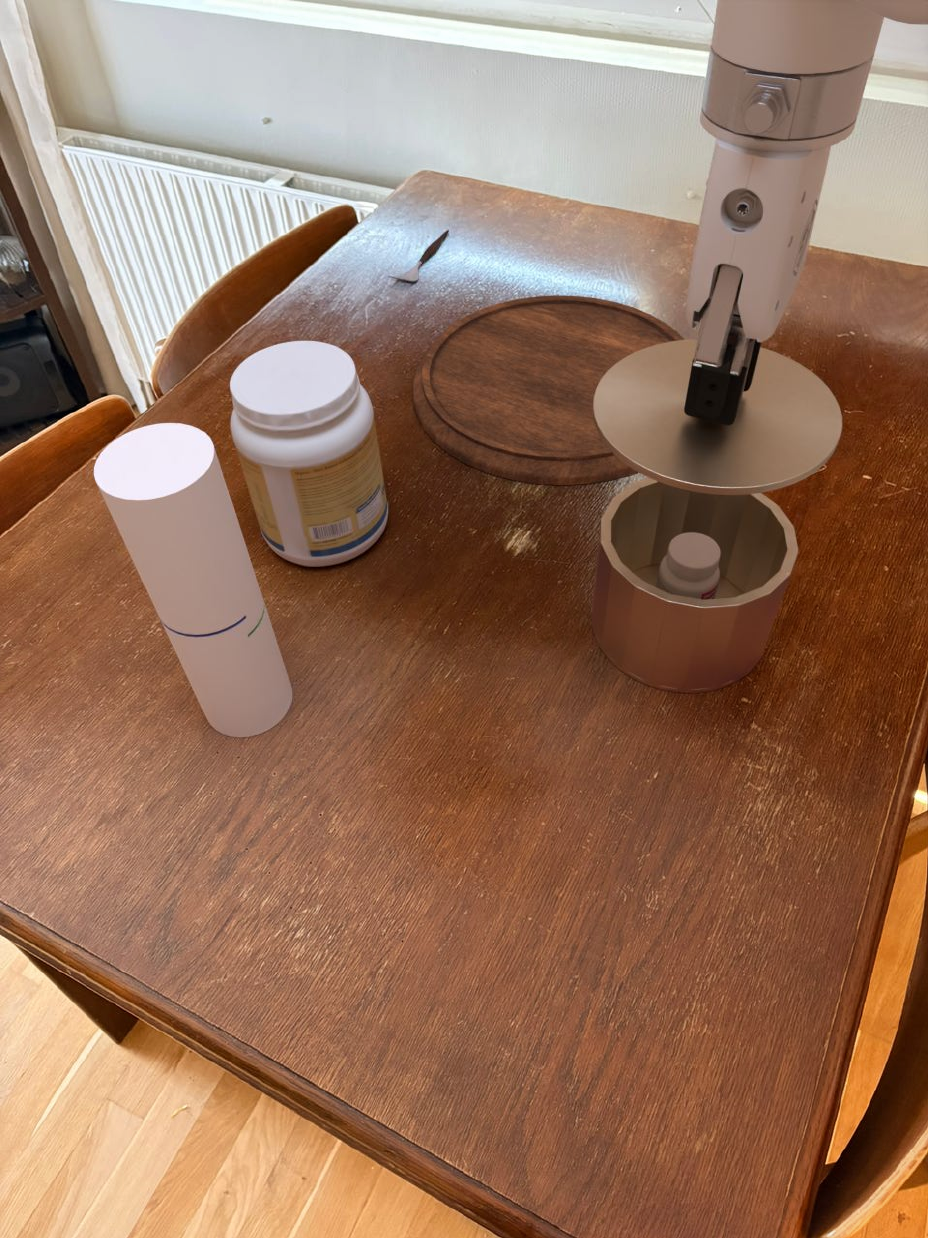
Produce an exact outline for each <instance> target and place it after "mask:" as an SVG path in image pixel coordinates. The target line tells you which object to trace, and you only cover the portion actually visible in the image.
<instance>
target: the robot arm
mask: <svg viewBox="0 0 928 1238" xmlns="http://www.w3.org/2000/svg"><path fill="white" fill-rule="evenodd" d="M714 17H715V18H714V23H713V30H712V35H711V43H710V48H709V54H708V61H707V66H706V74H705V80H704V87H703V94H702V101H701V108H700V114H699V121H700V125H701V126H702V128H703V129H704V130H705V132H707V133H708V134H709V135H711V136H712V137H713V138H715V143H714V148H713V153H712V157H711V161H710V167H709V172H708V176H707V179H706V181H705V192H704V196H703V200H702V201H703V202H702V208H701V212H700V218H699V222H698V227H697V233H696V240H695V244H694V249H693V254H692V255H693V256H692V261H691V268H690V272H689V273H690V274H689V280H688V287H687V294H686V303H685V304H686V305H685V315H684V317H685V320H686V322H687V324H688V326H690V327H691V328H693V329H694V328H696V326H697V325H699V324H700V326H699V332H698V337H697V339H698V341H697V346H696V351H695V356H694V359H693V362H692V367H691V373H690V379H689V384H688V390H687V396H686V401H685V407H684V412H685V414H686V415H688V416H692V417H696V418H700V419H704V420H708V421H712V422H716V423H720V424H724V425H731V424H733V423H734V420H735V418H736V415H737V411H738V407H739V402H740V398H741V394H742V390H743V385H744V381H745V377H746V372H747V368H748V367H743V363H744V359H745V355H746V351H747V347H748V343H749V338H751V339H756V340H755V344H754V348H753V352H752V357H751V361H750V365H749V369H748V374H747V378H746V382H745V387H744V391H743V392H745V391H748V390H749V388H750V386H751V384H752V380H753V376H754V372H755V368H756V364H757V359H758V355H759V351H760V347H762V343H763V342H765V341H767V340H769V339H770V338H772V336H773V335H774V334H775V332H776V330H777V329H778V326H779V324H780V323H781V321H782V318H783V317H784V314H785V312H786V311H787V307H788V305H789V303H790V301H791V299H792V297H793V294H794V292H795V290H796V288H797V286H798V283H799V282H800V279H801V277H802V274H803V271H804V268H805V264H806V260H807V257H808V251H809V247H810V242H811V238H812V233H813V228H814V225H815V224H814V223H815V220H816V215H817V211H818V207H819V202H820V198H821V194H822V190H823V186H824V182H825V176H826V172H827V168H828V163H829V159H830V154H831V149H832V146H835V145H837V144H839V143H840V142H842V141H845V140H847V138H849V137H850V136H851V135H852V134H853V131H854V130H855V126H856V123H857V119H858V116H859V112H860V108H861V105H862V102H863V98H864V93H865V89H866V86H867V83H868V79H869V76H870V71H871V69H872V68H871V67H872V65H873V61H874V57H875V53H876V48H877V46H878V42H879V38H880V34H881V30H882V27H883V24H884V20H885V18H886V19H889V20H890V21H891V20H892V21H894V22H897V23H902V24H906V25H921V26H922V25H924V26H925V25H927V26H928V0H717V3H716V10H715V16H714ZM728 334H731V335H736V336H738V339H737V343H736V347H735V349H734V345H733V344H729V343H727V337H728Z"/></svg>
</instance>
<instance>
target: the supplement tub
mask: <svg viewBox="0 0 928 1238" xmlns="http://www.w3.org/2000/svg"><path fill="white" fill-rule="evenodd" d="M229 390H230V395H231V402H232V407H233V408H232V411H231V416H230V433H231V438H232V441H233V443H234V447H235V450H236V453H237V456H238V460H239V463H240V467H241V469H242V473H243V476H244V480H245V483H246V486H247V490H248V493H249V496H250V500H251V502H252V506H253V510H254V513H255V516H256V519H257V522H258V526H259V530H260V533H261V535H262V537H263V539H264V541H265V542H266V544H267V545H268V546H269V548H270V549H271V550H272V551H273V552H274V553H275V554H276V555H278V556H279V557H281V558H282V559H283V560H286V561H288V562H290V563H293V564H295V565H299V566H303V567H315V568H316V567H317V568H318V567H329V566H333V565H339V564H342V563H345V562H347V561H350V560H352V559H354V558H357V557H358V556H360V555H361V554H363V553H365V552H366V551H367V550H369V549H370V548H371V547H372V546H373V545H374V544H375V543H376V542H378V540H379V538H381V535H382V534H383V532H384V530H385V528H386V526H387V524H388V518H389V517H388V516H389V504H388V503H389V502H388V500H387V492H386V487H385V481H384V474H383V468H382V461H381V460H382V459H381V454H380V448H379V440H378V434H377V433H378V432H377V427H376V421H375V411H374V406H373V404H372V401H371V397H370V395H369V394H368V392H367V390H366V389H365V387H364V386H363V385H362V384H361V382H360V377H359V376H358V373H357V370H356V365H355V362H354V361H353V359H352V357H351V356H350V354H348V352H346V351H345V350H343V349H342V348H340V347H339V346H336V345H334V344H331V343H326V342H323V341H315V340H292V341H287V342H282V343H277V344H274V345H270V346H268V347H265V348H263V349H261V350H258V351H256V352H254V353H253V354H251V355H250V356H248V357H246V358H245V359H244V360H243V361H242V362H241V363H239V364H238V365H237V367H236V368H235V370H234V371H233V373H232V374H231V377H230V381H229Z"/></svg>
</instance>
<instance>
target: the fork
mask: <svg viewBox="0 0 928 1238" xmlns="http://www.w3.org/2000/svg"><path fill="white" fill-rule="evenodd" d="M449 233H450V229H447V230H445V232H443V233H442V234H441V235H440V236H439V237H438V238H436V239H435V240H434V241H433V242H431V244H430V245H429V246H427V248H426V249H425V251H424V252H423V254H422V255H421V257H420V259H418V261H417V263H416V265H414V266H413V267H411V268H410V269H408V271H405V272H404V273H402V274H401V275H399V276H392V275H387V277H388V278H390V279H396V280H401V281H406V282H411V283H412V282H417V281H418V280H419V279H420V272H419V267H420V266H421V265H422V264H423V263H425V262H426V261H427V260H428V259H430V258H431V257H432V256H433V255H434V254H435V253H436V252H437V250H438V249H439V247H440V246H441V244H442V242H443V241H444V240H445V238H446V237H447V236H448V234H449Z"/></svg>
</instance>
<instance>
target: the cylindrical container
mask: <svg viewBox="0 0 928 1238" xmlns="http://www.w3.org/2000/svg"><path fill="white" fill-rule="evenodd" d="M93 478H94V480H95V483H96V485H97V488H98V489H99V491H100V494H101V496H102V498H103V500H104V503H105V504H106V507H107V509H108V511H109V513H110V515H111V518H112V519H113V523H114V524H115V526H116V528H117V531H118V533H119V535H120V536H121V539H122V541H123V543H124V545H125V548H126V549H127V552H128V554H129V556H130V558H131V560H132V563H133V565H134V567H135V569H136V571H137V573H138V575H139V577H140V579H141V581H142V583H143V586H144V589H145V590H146V593H147V594H148V597H149V599H150V601H151V603H152V605H153V607H154V610H155V611H156V614H157V616H158V619H159V620H160V622H161V624H162V627H163V629H164V630H165V633H166V635H167V637H168V639H169V641H170V644H171V645H172V646H171V647H172V648H173V650H174V653H175V654H176V656H177V659H178V661H179V663H180V665H181V667H182V669H183V672H184V674H185V676H186V678H187V680H188V683H189V685H190V687H191V689H192V691H193V693H194V695H195V697H196V699H197V701H198V704H199V706H200V708H201V710H202V712H203V714H204V717H205V718H206V721H207V722H208V724H209V725H210V727H211V728H213V729H214V730H215V731H217V732H218V733H220V734H221V735H223V736H227V737H231V738H250V737H254V736H258V735H261V734H263V733H265V732H267V731H269V730H271V729H273V728H274V727H276V726H277V725H278V724H279V723H280V722H281V721H282V720H283V719H284V718H285V717H286V715H287V714H288V712H289V710H290V708H291V706H292V702H293V695H294V694H293V688H292V687H293V686H292V684H291V681H290V678H289V674H288V671H287V668H286V665H285V663H284V660H283V655H282V653H281V649H280V647H279V644H278V640H277V637H276V635H275V634H276V633H275V631H274V629H273V625H272V622H271V619H270V616H269V613H268V609H267V607H266V604H265V600H264V597H263V594H262V590H261V588H260V585H259V582H258V578H257V576H256V572H255V569H254V567H253V563H252V561H251V556H250V554H249V551H248V547H247V544H246V541H245V538H244V535H243V532H242V530H241V526H240V523H239V520H238V516H237V514H236V511H235V507H234V504H233V501H232V498H231V495H230V492H229V488H228V485H227V483H226V479H225V476H224V474H223V470H222V467H221V464H220V461H219V458H218V454H217V452H216V449H215V445H214V443H213V441H212V439H211V437H210V436H209V435H208V434H207V433H206V432H205V431H203V430H201V429H200V428H199V427H196V426H193V425H190V424H185V423H180V422H179V423H178V422H162V423H155V424H150V425H149V424H148V425H145V426H141V427H138V428H135V429H133V430H131V431H128V432H126V433H124V434H123V435H120V436H119V437H117V438H115V439H114V440H113V441H111V442H110V443H109V444H108V445H107V446H105V448H104V449H103V450H102V451H101V452H100V454H99V455H98V457H97V459H96V460H95V463H94V467H93Z"/></svg>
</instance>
